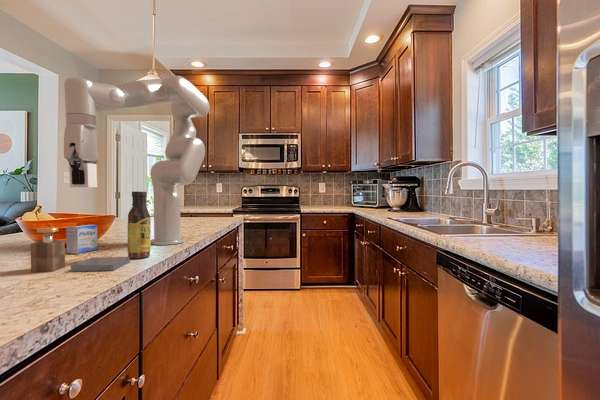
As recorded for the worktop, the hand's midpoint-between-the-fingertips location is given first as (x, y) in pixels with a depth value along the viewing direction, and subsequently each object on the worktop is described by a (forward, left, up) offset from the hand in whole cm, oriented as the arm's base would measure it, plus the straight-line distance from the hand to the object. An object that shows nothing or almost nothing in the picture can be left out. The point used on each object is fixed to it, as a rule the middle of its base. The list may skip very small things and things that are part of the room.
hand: (83, 183), depth 98 cm
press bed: (+12, +11, -22) cm, 28 cm away
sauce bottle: (+1, +16, -22) cm, 27 cm away
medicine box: (-11, -6, -22) cm, 26 cm away
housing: (0, 0, -1) cm, 1 cm away
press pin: (+14, -1, -18) cm, 23 cm away
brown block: (+14, -1, -22) cm, 26 cm away
